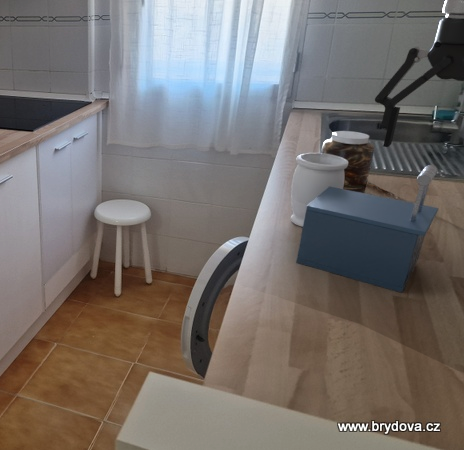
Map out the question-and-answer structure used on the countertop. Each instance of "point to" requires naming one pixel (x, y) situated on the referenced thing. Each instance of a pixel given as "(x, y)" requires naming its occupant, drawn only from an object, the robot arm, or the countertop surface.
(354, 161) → the jar
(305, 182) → the jar
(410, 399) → the countertop surface
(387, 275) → the blue lidded box
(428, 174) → the lid
